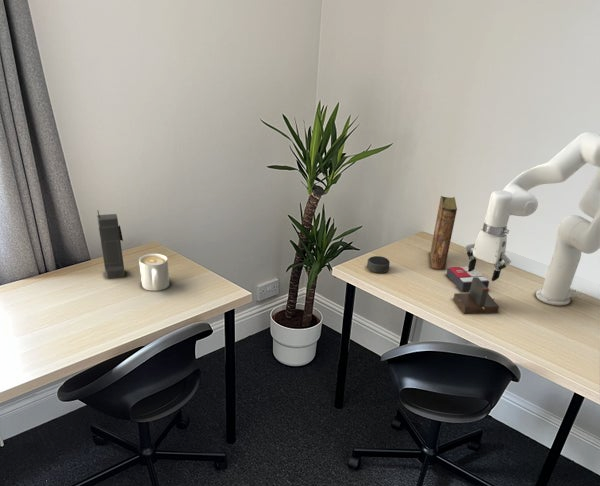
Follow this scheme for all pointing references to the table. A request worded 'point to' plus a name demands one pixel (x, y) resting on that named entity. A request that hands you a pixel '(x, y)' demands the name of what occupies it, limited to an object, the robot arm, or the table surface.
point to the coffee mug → (154, 272)
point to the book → (443, 232)
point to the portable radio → (111, 245)
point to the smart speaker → (378, 264)
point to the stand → (475, 304)
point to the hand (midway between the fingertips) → (482, 275)
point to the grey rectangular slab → (478, 291)
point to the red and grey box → (465, 277)
